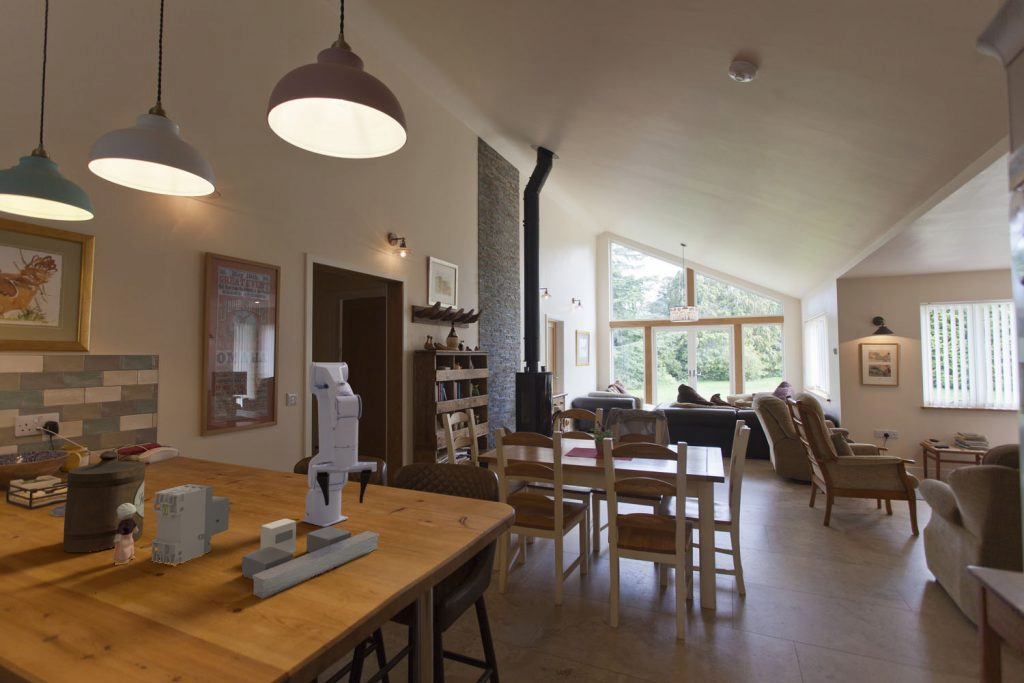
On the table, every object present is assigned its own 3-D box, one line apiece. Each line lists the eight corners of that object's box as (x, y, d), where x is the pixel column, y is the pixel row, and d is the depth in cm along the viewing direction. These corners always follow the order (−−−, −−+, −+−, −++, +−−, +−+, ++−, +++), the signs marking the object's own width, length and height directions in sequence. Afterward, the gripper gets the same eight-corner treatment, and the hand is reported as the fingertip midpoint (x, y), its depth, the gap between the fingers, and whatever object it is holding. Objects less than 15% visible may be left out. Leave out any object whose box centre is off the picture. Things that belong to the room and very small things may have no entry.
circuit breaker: (233, 543, 115) (235, 480, 116) (175, 566, 102) (177, 495, 102) (211, 539, 118) (213, 478, 118) (151, 561, 104) (153, 492, 105)
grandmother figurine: (119, 557, 107) (121, 500, 107) (140, 554, 108) (142, 498, 109) (105, 570, 99) (108, 509, 100) (128, 567, 101) (130, 507, 102)
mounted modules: (241, 575, 97) (241, 555, 97) (327, 542, 115) (327, 525, 115) (264, 585, 93) (265, 564, 93) (350, 549, 111) (351, 532, 111)
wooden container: (155, 536, 120) (158, 448, 121) (82, 558, 106) (87, 458, 107) (122, 527, 126) (126, 444, 127) (50, 547, 112) (54, 453, 114)
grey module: (260, 557, 107) (261, 525, 107) (284, 548, 112) (285, 518, 112) (271, 561, 104) (272, 529, 105) (296, 552, 110) (296, 521, 110)
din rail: (251, 594, 89) (252, 575, 89) (366, 545, 113) (367, 530, 113) (264, 599, 87) (264, 580, 87) (378, 549, 111) (379, 533, 111)
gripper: (310, 450, 108) (309, 510, 107) (376, 447, 112) (375, 505, 111) (314, 445, 115) (313, 501, 114) (376, 442, 119) (376, 497, 118)
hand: (344, 503), depth 113 cm, fingers open, 7 cm apart
